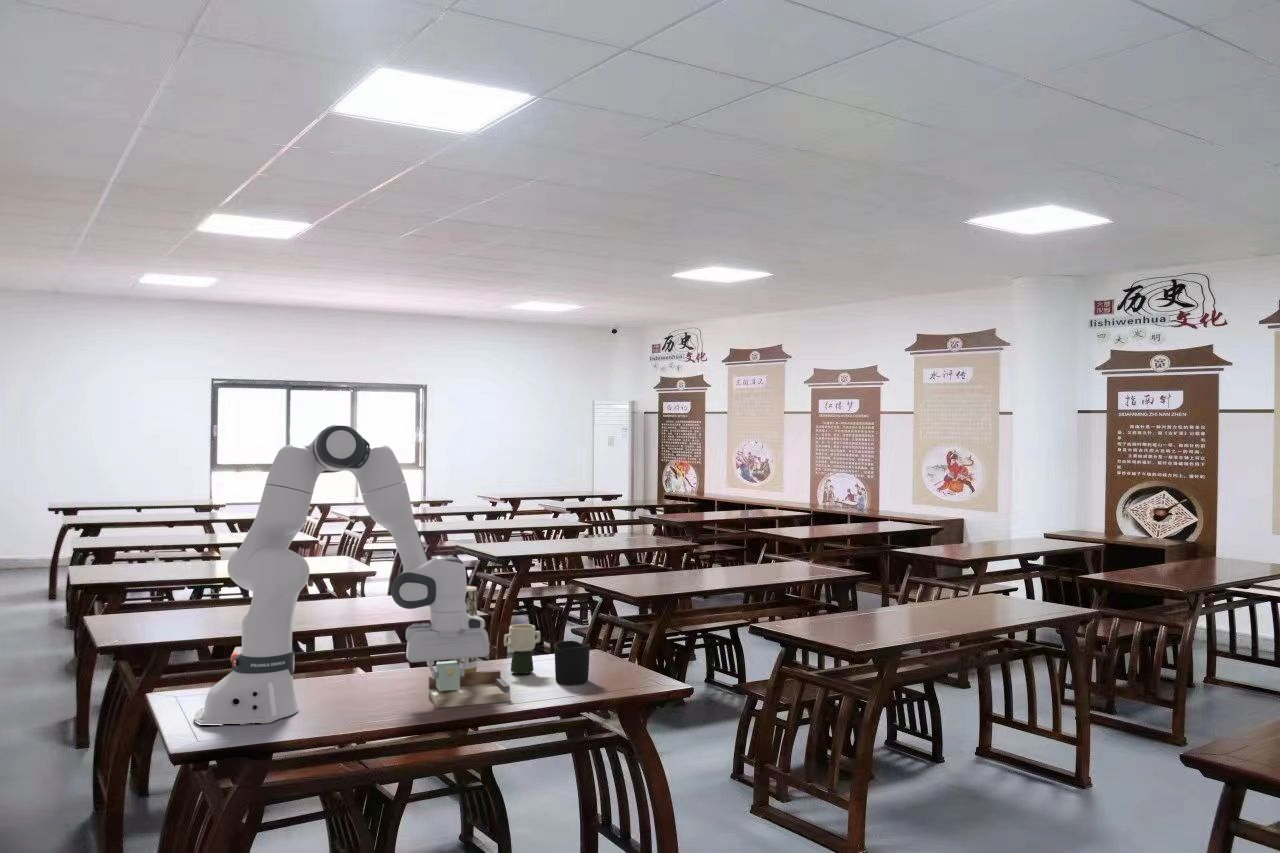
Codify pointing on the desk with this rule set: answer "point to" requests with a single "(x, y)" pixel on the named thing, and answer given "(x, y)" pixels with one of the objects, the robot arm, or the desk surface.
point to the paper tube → (472, 609)
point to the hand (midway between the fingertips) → (447, 677)
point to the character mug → (522, 646)
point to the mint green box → (448, 675)
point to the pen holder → (571, 662)
